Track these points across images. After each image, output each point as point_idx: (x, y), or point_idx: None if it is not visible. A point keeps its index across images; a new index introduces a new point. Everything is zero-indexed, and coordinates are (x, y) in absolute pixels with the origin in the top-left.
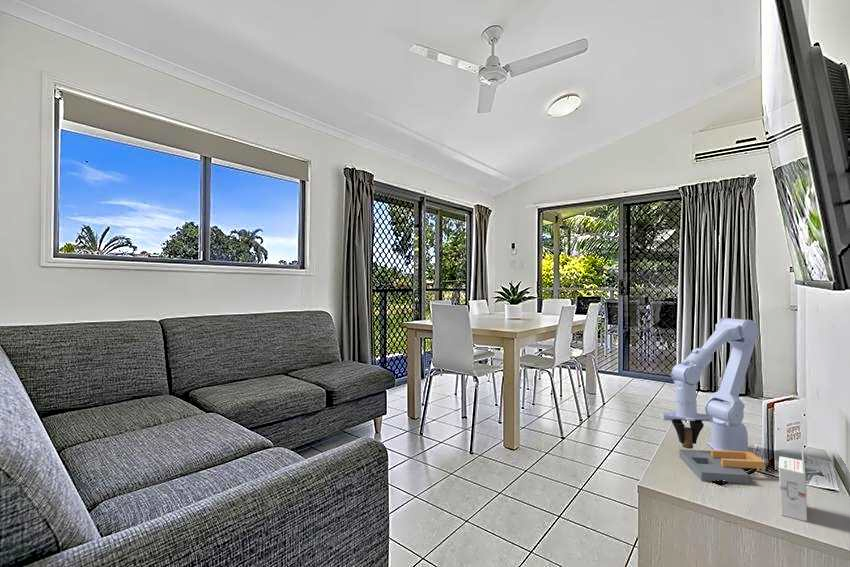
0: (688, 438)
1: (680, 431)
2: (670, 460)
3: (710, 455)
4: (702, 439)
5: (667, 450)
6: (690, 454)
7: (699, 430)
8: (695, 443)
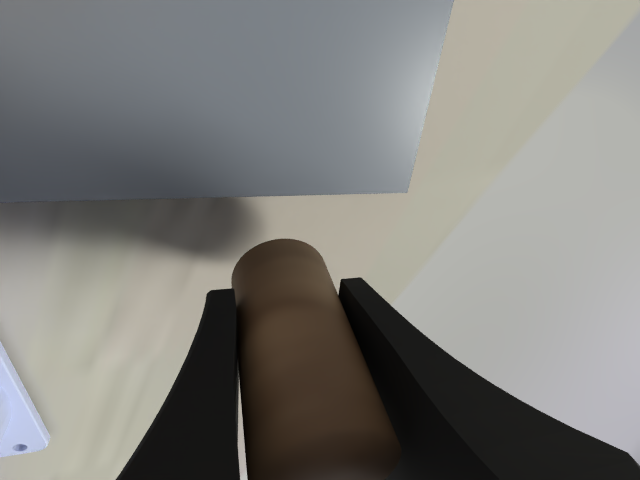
0: (315, 317)
1: (465, 379)
2: (495, 73)
3: (92, 29)
4: (67, 476)
5: (396, 269)
6: (368, 46)
7: (148, 467)
8: (215, 291)
